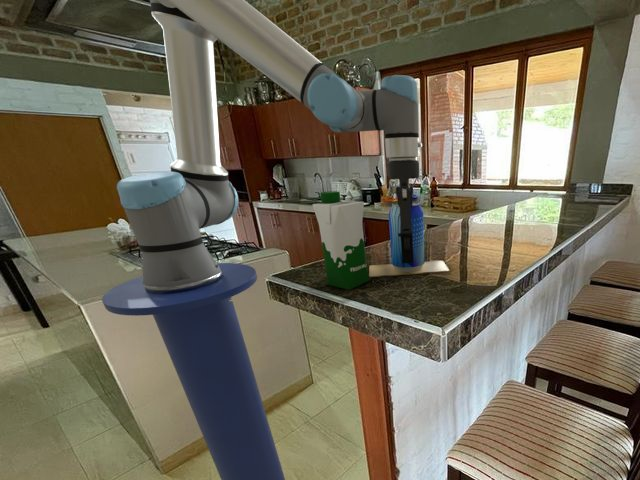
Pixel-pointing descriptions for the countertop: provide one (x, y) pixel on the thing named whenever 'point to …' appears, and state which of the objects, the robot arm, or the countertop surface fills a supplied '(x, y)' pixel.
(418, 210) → the beer can
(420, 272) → the mat
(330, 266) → the milk carton
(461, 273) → the countertop surface
